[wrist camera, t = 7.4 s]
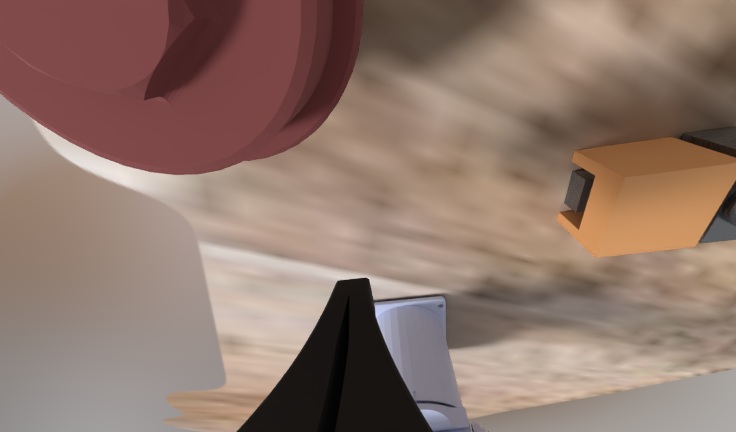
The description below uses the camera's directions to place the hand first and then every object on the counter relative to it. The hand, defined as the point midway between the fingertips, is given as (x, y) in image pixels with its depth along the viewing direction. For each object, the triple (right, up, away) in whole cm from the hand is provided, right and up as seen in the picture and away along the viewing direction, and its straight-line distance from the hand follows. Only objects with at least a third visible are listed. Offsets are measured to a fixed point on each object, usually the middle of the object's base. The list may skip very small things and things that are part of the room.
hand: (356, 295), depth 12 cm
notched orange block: (+18, +6, +8) cm, 21 cm away
